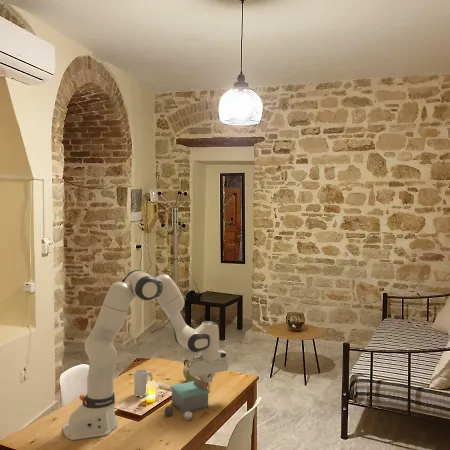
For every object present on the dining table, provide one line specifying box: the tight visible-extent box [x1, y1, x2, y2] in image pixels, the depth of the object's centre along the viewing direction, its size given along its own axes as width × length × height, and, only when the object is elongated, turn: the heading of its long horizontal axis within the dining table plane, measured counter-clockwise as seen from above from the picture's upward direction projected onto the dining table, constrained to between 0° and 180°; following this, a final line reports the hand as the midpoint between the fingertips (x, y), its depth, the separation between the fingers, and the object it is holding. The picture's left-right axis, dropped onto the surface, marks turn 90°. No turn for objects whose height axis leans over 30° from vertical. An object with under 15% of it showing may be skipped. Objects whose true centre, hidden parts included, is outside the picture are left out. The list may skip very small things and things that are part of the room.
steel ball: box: [183, 411, 194, 421], centre depth 216 cm, size 4×4×4 cm
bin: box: [171, 389, 209, 415], centre depth 231 cm, size 13×13×7 cm
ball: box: [164, 406, 174, 417], centre depth 220 cm, size 4×4×4 cm
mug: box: [133, 368, 154, 397], centre depth 242 cm, size 10×7×12 cm, turn 130°
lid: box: [170, 376, 211, 399], centre depth 230 cm, size 14×14×4 cm
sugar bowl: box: [182, 355, 211, 383], centre depth 257 cm, size 20×15×15 cm
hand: (208, 381), depth 235 cm, fingers closed
